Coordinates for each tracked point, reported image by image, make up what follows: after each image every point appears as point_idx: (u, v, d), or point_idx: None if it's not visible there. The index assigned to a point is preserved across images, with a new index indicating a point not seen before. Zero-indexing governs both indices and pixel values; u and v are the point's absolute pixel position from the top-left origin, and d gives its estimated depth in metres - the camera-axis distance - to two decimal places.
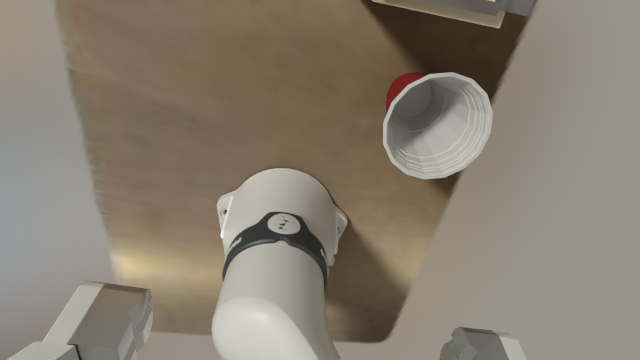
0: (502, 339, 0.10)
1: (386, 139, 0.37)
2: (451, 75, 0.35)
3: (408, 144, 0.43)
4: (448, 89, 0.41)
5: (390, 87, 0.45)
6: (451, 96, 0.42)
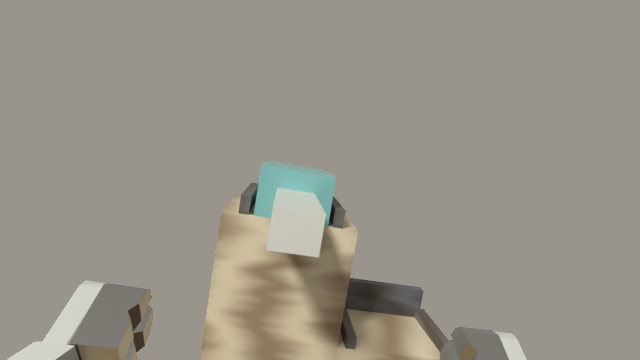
0: (502, 339, 0.10)
1: None
2: None
3: None
4: None
5: None
6: None
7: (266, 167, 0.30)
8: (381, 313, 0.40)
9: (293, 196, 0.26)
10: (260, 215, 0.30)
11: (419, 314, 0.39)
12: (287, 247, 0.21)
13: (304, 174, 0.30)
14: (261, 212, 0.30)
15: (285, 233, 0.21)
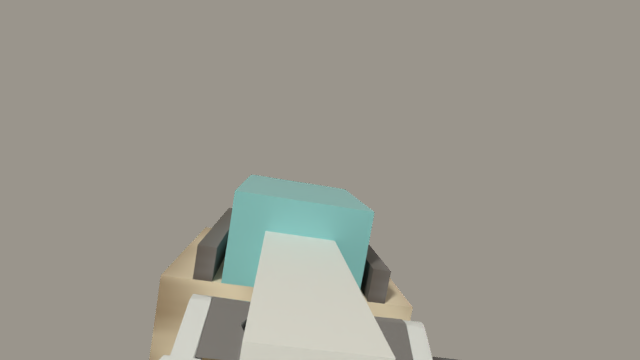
0: (408, 327, 0.09)
1: None
2: None
3: None
4: None
5: None
6: None
7: (245, 193, 0.16)
8: None
9: (297, 262, 0.12)
10: (234, 282, 0.16)
11: None
12: None
13: (316, 206, 0.16)
14: (236, 276, 0.16)
15: None
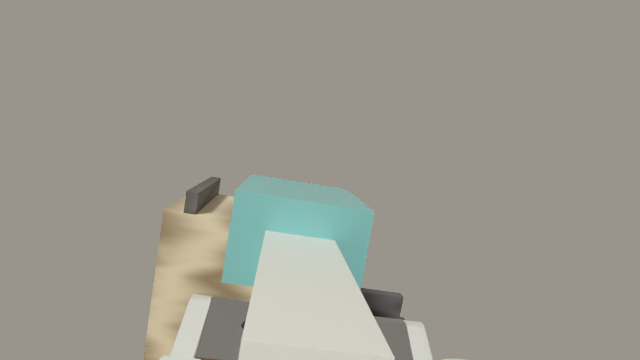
0: (408, 327, 0.09)
1: None
2: None
3: None
4: None
5: None
6: None
7: (245, 193, 0.16)
8: None
9: (297, 261, 0.12)
10: (234, 282, 0.16)
11: None
12: None
13: (316, 206, 0.16)
14: (236, 276, 0.16)
15: None
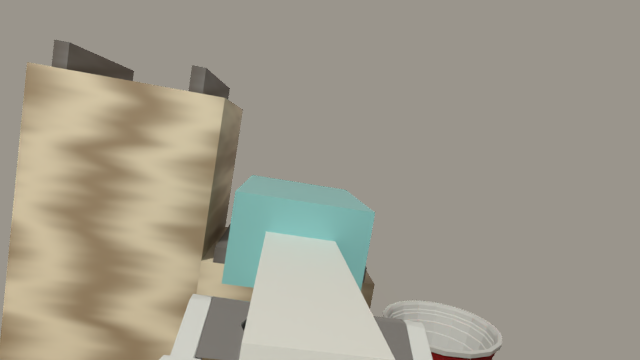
0: (408, 327, 0.09)
1: (484, 350, 0.31)
2: None
3: None
4: None
5: None
6: None
7: (245, 194, 0.16)
8: None
9: (297, 262, 0.12)
10: (234, 283, 0.16)
11: None
12: None
13: (316, 206, 0.16)
14: (236, 277, 0.16)
15: None
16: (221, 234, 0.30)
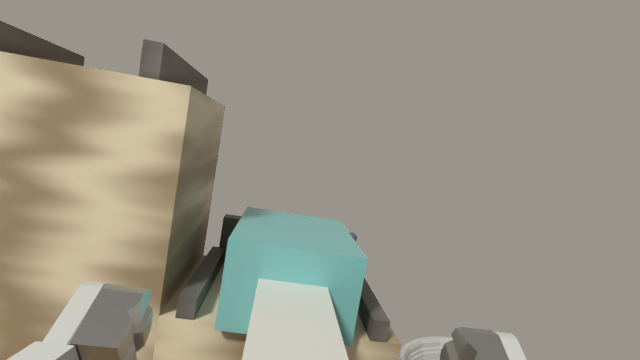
0: (502, 339, 0.10)
1: None
2: None
3: None
4: None
5: None
6: None
7: (238, 241, 0.16)
8: None
9: (287, 323, 0.12)
10: (227, 329, 0.16)
11: None
12: None
13: (309, 253, 0.16)
14: (229, 324, 0.16)
15: None
16: (196, 267, 0.23)
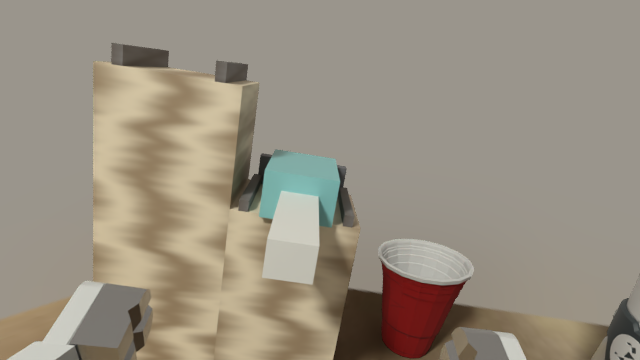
0: (502, 339, 0.10)
1: (455, 279, 0.39)
2: (381, 256, 0.43)
3: None
4: None
5: (405, 349, 0.44)
6: None
7: (270, 171, 0.30)
8: None
9: (293, 209, 0.27)
10: (265, 216, 0.31)
11: (339, 192, 0.38)
12: (282, 275, 0.22)
13: (308, 178, 0.30)
14: (266, 214, 0.31)
15: (280, 263, 0.22)
16: (245, 186, 0.37)
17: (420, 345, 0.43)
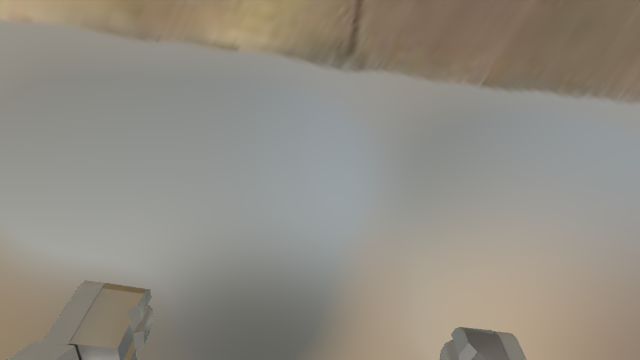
0: (502, 339, 0.10)
1: None
2: None
3: None
4: None
5: None
6: None
7: None
8: None
9: None
10: None
11: None
12: None
13: None
14: None
15: None
16: None
17: None
